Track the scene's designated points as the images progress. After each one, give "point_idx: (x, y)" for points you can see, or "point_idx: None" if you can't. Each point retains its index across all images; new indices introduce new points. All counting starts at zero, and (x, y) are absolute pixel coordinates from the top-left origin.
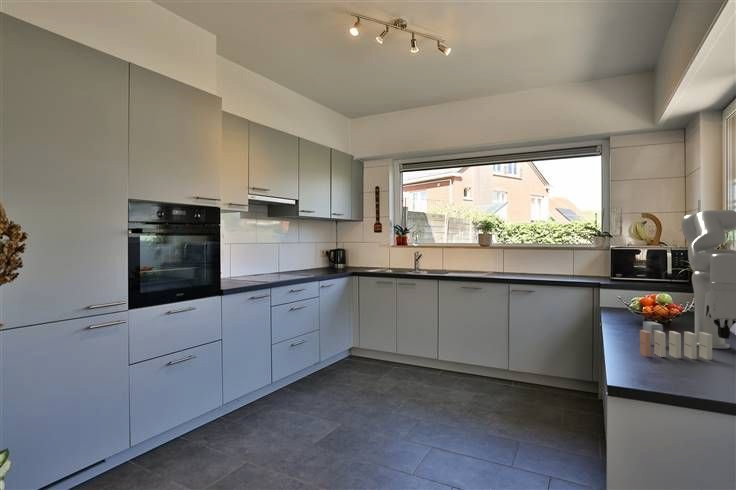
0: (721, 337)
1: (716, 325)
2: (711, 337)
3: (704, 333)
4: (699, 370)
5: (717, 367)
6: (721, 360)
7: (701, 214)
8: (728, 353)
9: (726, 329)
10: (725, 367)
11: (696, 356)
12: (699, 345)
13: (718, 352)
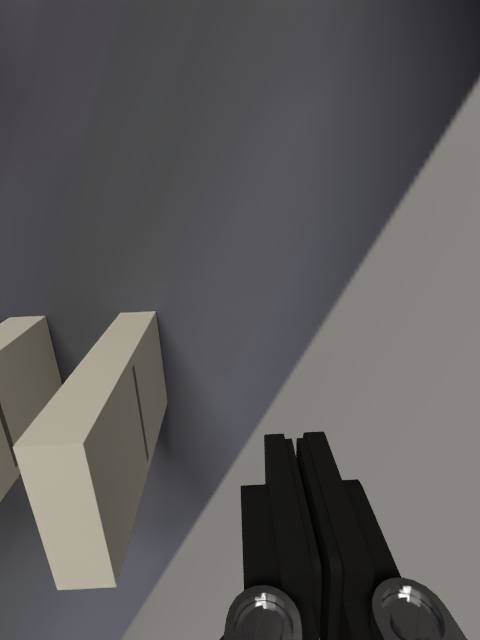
0: (266, 479)
1: (234, 607)
2: (118, 556)
3: (57, 521)
4: (5, 616)
5: None
6: (225, 400)
7: None
8: (439, 130)
9: (321, 635)
10: (162, 544)
11: None
12: (89, 356)
13: (368, 105)
